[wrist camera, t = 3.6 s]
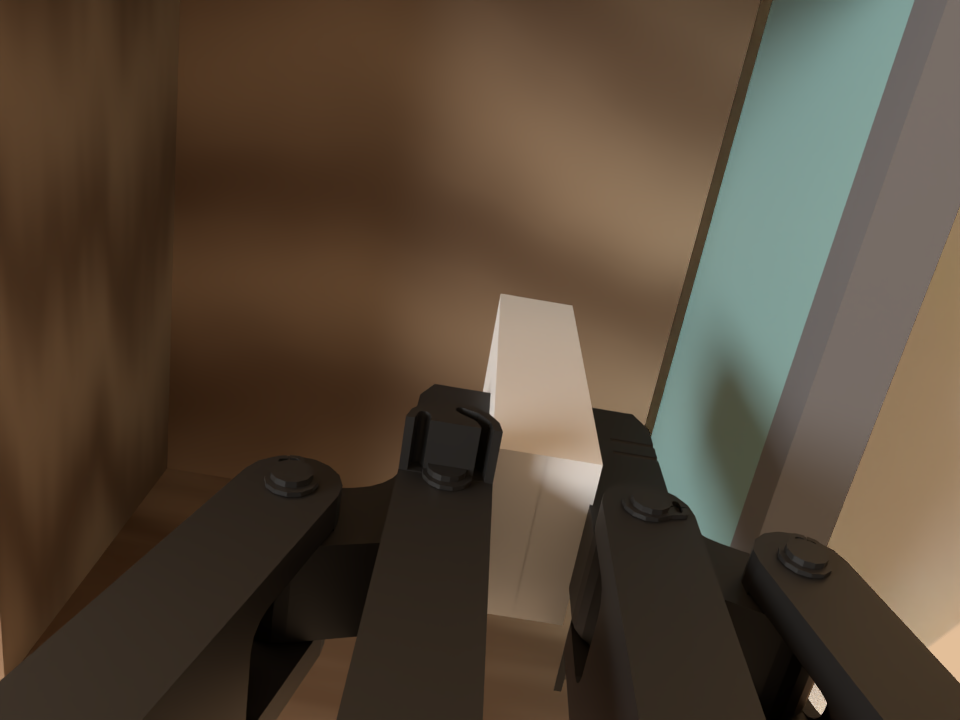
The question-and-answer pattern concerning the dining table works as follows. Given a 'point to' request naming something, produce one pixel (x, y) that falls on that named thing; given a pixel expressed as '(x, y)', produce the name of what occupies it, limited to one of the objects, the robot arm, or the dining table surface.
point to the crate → (320, 253)
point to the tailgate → (813, 263)
